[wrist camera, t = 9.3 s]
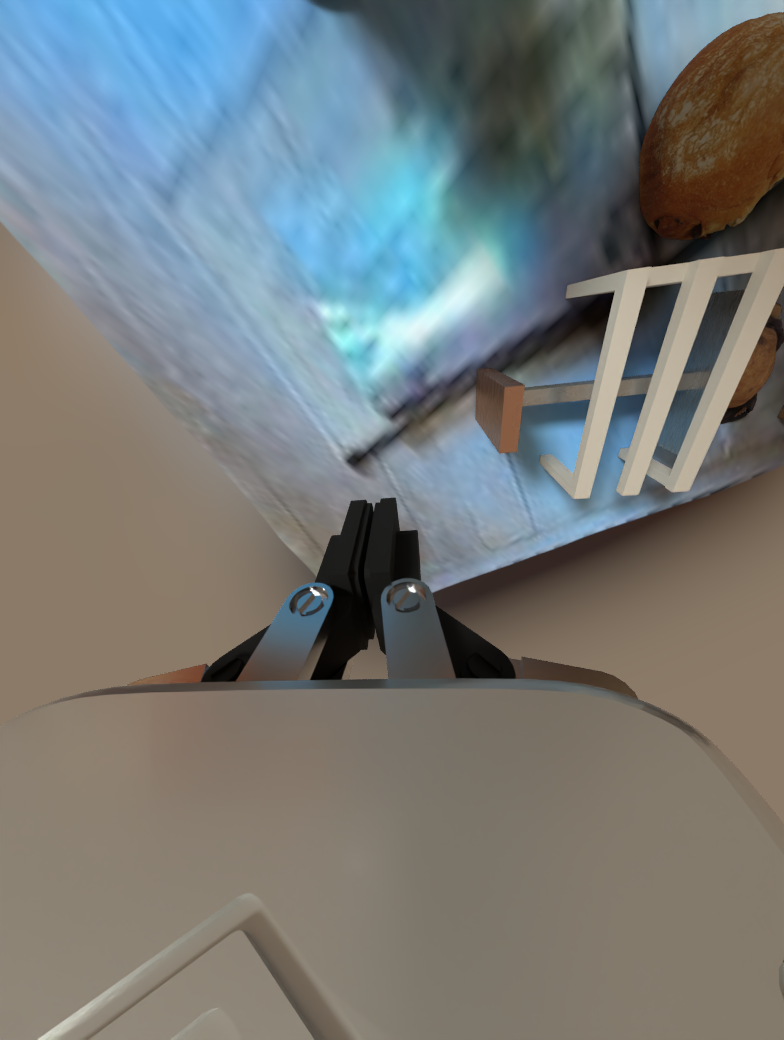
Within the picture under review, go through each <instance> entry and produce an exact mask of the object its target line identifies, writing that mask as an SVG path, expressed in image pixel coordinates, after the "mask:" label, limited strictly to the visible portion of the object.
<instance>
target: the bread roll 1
mask: <svg viewBox="0 0 784 1040" xmlns="http://www.w3.org/2000/svg"><path fill="white" fill-rule="evenodd" d="M639 167H640V168H639V179H640V180H639V195H640V208H641V213H642V215H643V216H644V218H645V220H646V222H647V224H648V225H649V226H650V227H651V228H652V229H653V230H654V231H655V232H656V233H657V234H658V235H659V236H661V237H663V238H667V239H677V240H691V239H698V238H700V239H703V240H707V239H709V238H710V237H711V235H712V234H713V233H714V232H716V231H720V230H724V228H725V226H726V224H728V225H729V226H730V227H735V226H736V225H737V224H739V223H741V222H742V221H744V220H745V218H746V217H747V215H748V214H749V213H750V212H751V211H752V210H753V208H754V206H755V205H756V203H757V202H758V201H759V200H760V199H761V197H762V196H763V195H764V194H765V193H766V192H767V191H768V190H770V189H771V188H772V187H773V185H774V184H775V183H776V182H777V181H779V180H781V179H782V178H783V177H784V12H783V13H781V12H779V13H773V14H767V15H764V16H762V17H759V18H756V19H750V20H747V21H745V22H743V23H740V24H738V25H736V26H734V27H732V28H731V29H729V30H727V31H726V32H724V33H722V34H721V35H720V36H718V37H717V38H716V39H714V40H713V41H712V42H711V43H709V44H708V45H707V46H706V47H704V48H703V49H702V50H701V51H700V52H699V53H698V54H697V55H696V56H695V57H694V58H693V59H692V60H691V61H690V63H689V64H688V65H687V66H686V67H685V68H684V70H683V71H682V72H681V73H680V74H679V76H678V77H677V78H676V80H675V81H674V83H673V84H672V85H671V87H670V88H669V90H668V91H667V93H666V95H665V96H664V98H663V99H662V101H661V103H660V104H659V106H658V109H657V111H656V113H655V115H654V117H653V119H652V121H651V124H650V126H649V128H648V130H647V133H646V135H645V137H644V141H643V145H642V148H641V152H640V159H639Z"/></svg>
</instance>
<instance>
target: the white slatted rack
mask: <svg viewBox="0 0 784 1040" xmlns="http://www.w3.org/2000/svg"><path fill="white" fill-rule="evenodd" d="M752 272H753V273H752ZM746 273H752V275H751V278H750V280H749V282H748V285H747V287H746V290H745V292H744V295H743V297H742V300H741V302H740V304H739V307H738V309H737V312H736V314H735V317H734V319H733V322H732V324H731V326H730V329H729V331H728V334H727V336H726V339H725V341H724V344H723V346H722V348H721V351H720V353H719V356H718V358H717V361H716V363H715V366H714V368H713V370H712V373H711V375H710V378H709V380H708V383H707V385H706V388H705V390H704V392H703V395H702V397H701V400H700V402H699V405H698V407H697V410H696V412H695V414H694V417H693V419H692V422H691V424H690V427H689V429H688V432H687V434H686V436H685V439H684V441H683V444H682V446H681V449H680V451H679V454H678V456H677V458H676V461H675V463H674V466H673V468H672V469H670V468H669V467H667V466H665V465H663V464H661V463H660V462H658V461H656V460H654V459H652V456H653V453H654V450H655V448H656V445H657V442H658V439H659V437H660V434H661V431H662V428H663V426H664V423H665V420H666V417H667V415H668V412H669V409H670V406H671V404H672V401H673V398H674V395H675V392H676V390H677V387H678V384H679V381H680V379H681V376H682V373H683V370H684V368H685V365H686V362H687V359H688V357H689V354H690V351H691V348H692V346H693V343H694V340H695V337H696V335H697V332H698V329H699V326H700V324H701V321H702V318H703V315H704V313H705V310H706V307H707V304H708V302H709V299H710V296H711V293H712V291H713V288H714V285H715V282H716V280H717V278H720V277H726V276H733V275H739V274H746ZM680 283H682V284H681V288H680V291H679V294H678V297H677V300H676V303H675V307H674V310H673V313H672V316H671V319H670V322H669V326H668V329H667V332H666V335H665V338H664V341H663V344H662V348H661V351H660V354H659V357H658V360H657V363H656V367H655V370H654V373H653V376H652V379H651V382H650V386H649V389H648V392H647V395H646V398H645V401H644V404H643V408H642V411H641V414H640V417H639V420H638V423H637V427H636V430H635V433H634V436H633V439H632V442H631V446H630V447H629V448H620V452H619V455H618V457H620V458H621V459H623V460H624V461H625V464H624V468H623V471H622V474H621V477H620V480H619V483H618V487H617V490H616V491H617V492H618V493H619V494H621V495H622V496H626V495H638V494H639V492H640V489H641V486H642V483H643V481H644V478H645V475H646V474H647V475H648V476H650V477H651V478H653V479H655V480H656V481H658V482H659V483H661V484H663V485H664V486H665V488H666V489H668V490H670V491H671V492H683V491H689V490H690V488H691V486H692V483H693V481H694V479H695V477H696V475H697V473H698V470H699V468H700V466H701V464H702V462H703V459H704V457H705V455H706V453H707V451H708V449H709V446H710V444H711V442H712V440H713V438H714V436H715V433H716V431H717V429H718V427H719V425H720V423H721V420H722V418H723V416H724V414H725V412H726V409H727V407H728V405H729V403H730V401H731V399H732V396H733V394H734V392H735V390H736V388H737V386H738V383H739V381H740V379H741V377H742V375H743V373H744V370H745V368H746V366H747V364H748V362H749V359H750V357H751V355H752V353H753V351H754V349H755V346H756V344H757V342H758V340H759V338H760V336H761V333H762V331H763V329H764V327H765V325H766V322H767V320H768V318H769V316H770V314H771V312H772V309H773V307H774V305H775V303H776V301H777V299H778V296H779V294H780V292H781V290H782V288H783V286H784V248H780V249H774V250H769V251H765V252H759V253H752V254H745V255H738V256H731V257H725V256H723V257H716V258H709V259H702V260H697V261H692V262H688V263H680V264H673V265H666V266H659V267H652V268H651V267H644V268H637V269H630V270H625V271H621V272H617V273H613V274H609V275H605V276H601V277H598V278H594V279H590V280H586V281H582V282H578V283H574V284H570V285H567V292H566V298H565V299H567V298H575V297H582V296H590V295H597V294H605V293H612V292H615V293H614V297H613V302H612V306H611V311H610V315H609V319H608V324H607V328H606V333H605V337H604V342H603V346H602V351H601V355H600V359H599V364H598V368H597V373H596V377H595V382H594V386H593V390H592V395H591V399H590V404H589V408H588V413H587V417H586V421H585V426H584V430H583V435H582V439H581V444H580V448H579V452H578V457H577V461H576V466H575V470H574V474H573V473H572V472H571V471H570V470H568V469H567V468H566V467H565V466H564V465H563V464H562V463H561V462H560V461H559V460H557V459H556V458H555V457H554V456H553V455H552V454H546V455H541V457H540V464H541V465H542V466H543V467H544V468H545V469H546V470H547V471H548V472H549V474H550V475H551V476H552V477H553V478H554V479H555V480H556V481H557V482H558V483H559V484H560V485H561V486H562V487H563V488H564V489H565V490H566V492H567V493H568V494H569V495H570V496H571V497H572V498H573V499H584V498H590V494H591V490H592V486H593V483H594V479H595V475H596V472H597V468H598V464H599V460H600V457H601V453H602V449H603V445H604V442H605V438H606V434H607V430H608V427H609V423H610V419H611V416H612V412H613V408H614V404H615V401H616V397H617V393H618V389H619V386H620V382H621V378H622V374H623V371H624V367H625V363H626V359H627V356H628V352H629V348H630V345H631V341H632V337H633V333H634V330H635V326H636V322H637V318H638V315H639V311H640V307H641V303H642V300H643V296H644V292H645V289H646V288H650V287H657V286H665V285H672V284H680Z"/></svg>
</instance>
